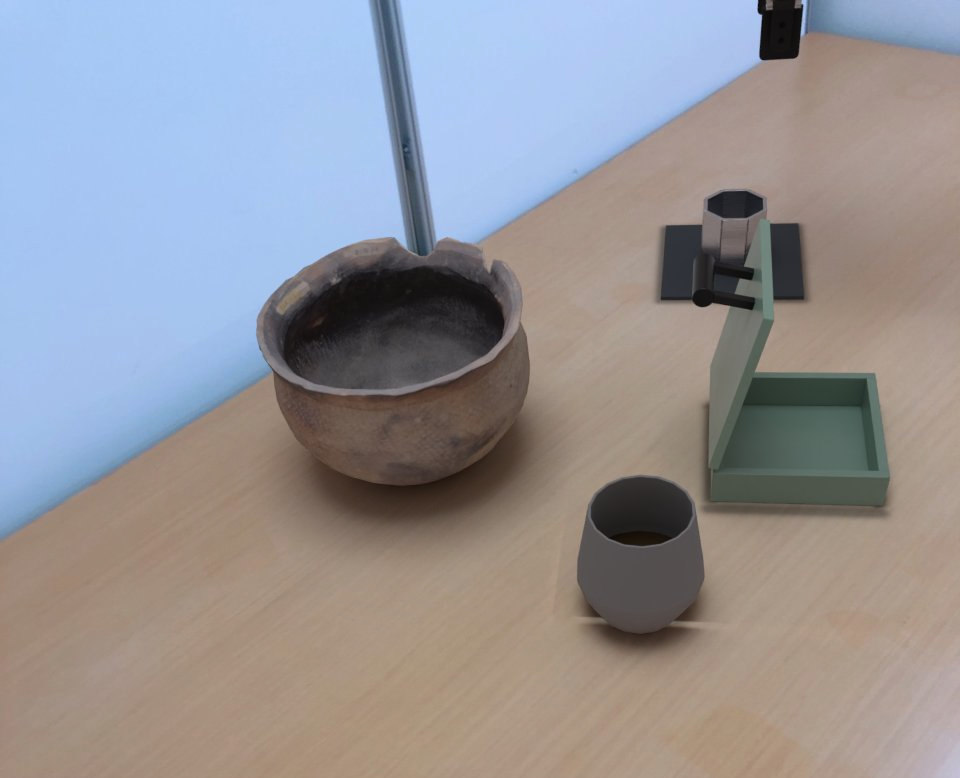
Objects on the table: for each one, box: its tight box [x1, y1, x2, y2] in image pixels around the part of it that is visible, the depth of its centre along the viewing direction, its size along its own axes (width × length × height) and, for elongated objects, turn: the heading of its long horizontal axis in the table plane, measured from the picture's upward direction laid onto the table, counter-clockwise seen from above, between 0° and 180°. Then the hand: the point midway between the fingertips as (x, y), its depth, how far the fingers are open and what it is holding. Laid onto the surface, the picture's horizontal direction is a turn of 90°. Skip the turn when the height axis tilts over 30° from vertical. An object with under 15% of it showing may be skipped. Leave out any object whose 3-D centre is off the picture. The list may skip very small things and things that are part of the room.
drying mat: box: [660, 222, 805, 301], centre depth 114 cm, size 14×14×1 cm
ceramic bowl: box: [255, 236, 531, 486], centre depth 94 cm, size 22×22×15 cm
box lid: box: [691, 219, 775, 470], centre depth 87 cm, size 14×14×5 cm
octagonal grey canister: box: [701, 188, 768, 266], centre depth 112 cm, size 6×6×6 cm
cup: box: [576, 474, 706, 635], centre depth 81 cm, size 10×9×10 cm
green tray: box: [709, 371, 891, 507], centre depth 93 cm, size 14×14×4 cm
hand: (776, 34), depth 95 cm, fingers open, 9 cm apart
